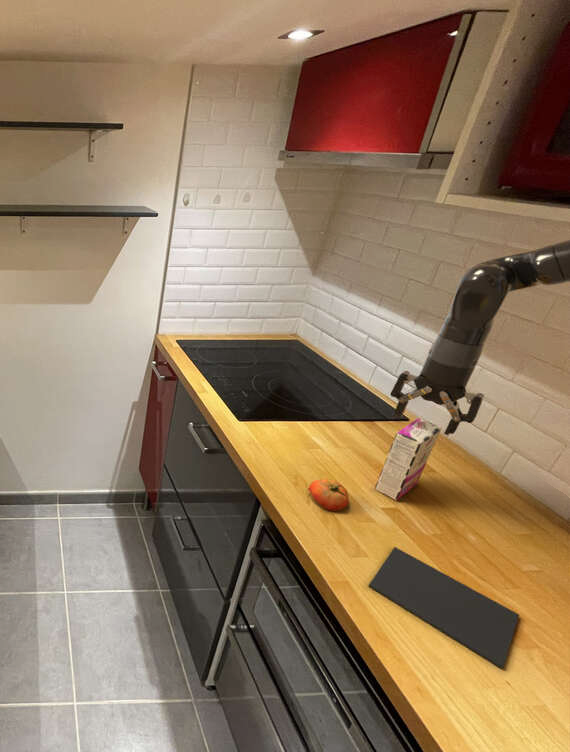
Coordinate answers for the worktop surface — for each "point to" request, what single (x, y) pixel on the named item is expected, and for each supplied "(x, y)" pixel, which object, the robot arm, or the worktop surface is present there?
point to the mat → (447, 605)
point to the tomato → (329, 494)
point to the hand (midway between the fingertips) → (422, 424)
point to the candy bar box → (407, 458)
